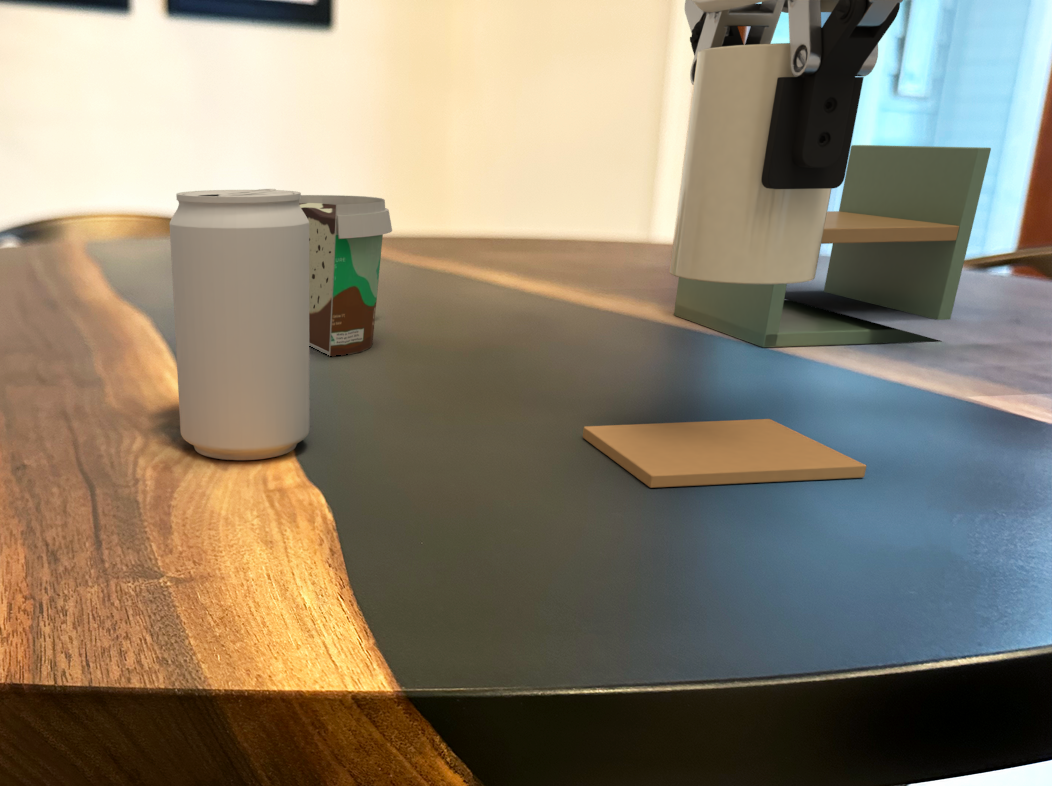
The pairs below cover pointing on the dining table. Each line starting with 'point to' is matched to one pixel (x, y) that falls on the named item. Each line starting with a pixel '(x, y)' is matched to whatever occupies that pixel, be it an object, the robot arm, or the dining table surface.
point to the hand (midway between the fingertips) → (756, 179)
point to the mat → (719, 453)
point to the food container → (344, 269)
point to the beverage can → (241, 321)
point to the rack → (866, 253)
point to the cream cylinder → (741, 179)
